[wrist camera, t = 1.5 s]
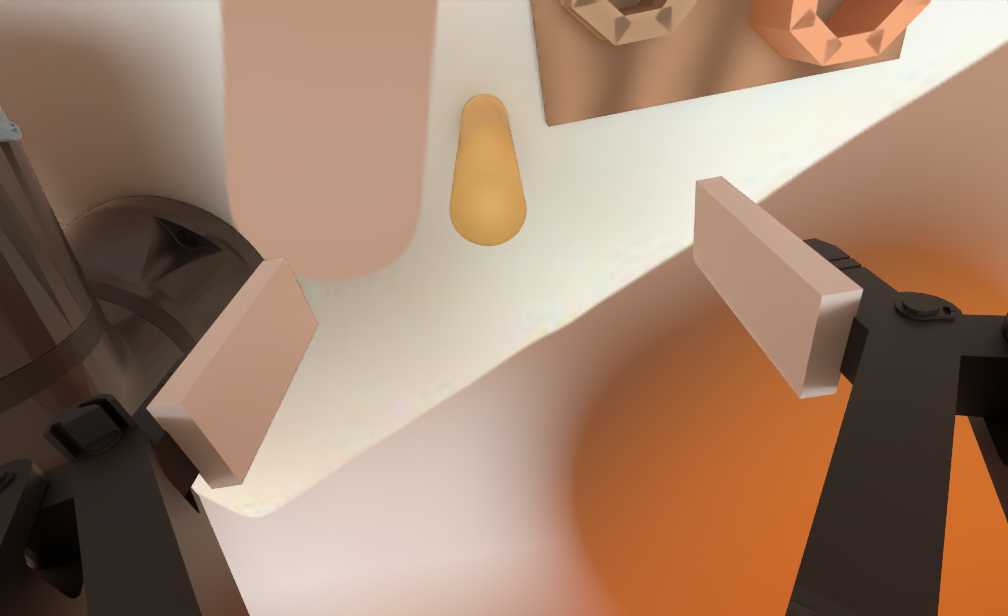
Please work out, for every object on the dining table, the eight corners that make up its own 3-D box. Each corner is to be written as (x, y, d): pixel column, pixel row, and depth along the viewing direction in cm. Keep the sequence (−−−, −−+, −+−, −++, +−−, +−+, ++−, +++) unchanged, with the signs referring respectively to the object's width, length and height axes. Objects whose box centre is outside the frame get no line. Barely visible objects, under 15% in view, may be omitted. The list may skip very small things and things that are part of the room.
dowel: (467, 145, 33) (459, 251, 20) (457, 99, 32) (441, 181, 18) (510, 136, 33) (531, 238, 20) (503, 89, 32) (520, 166, 18)
